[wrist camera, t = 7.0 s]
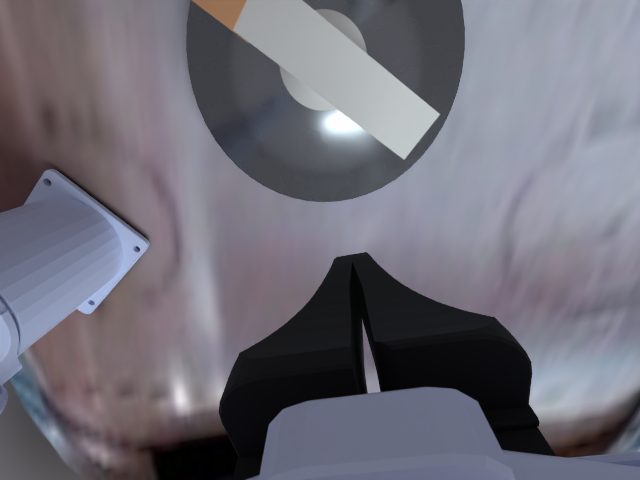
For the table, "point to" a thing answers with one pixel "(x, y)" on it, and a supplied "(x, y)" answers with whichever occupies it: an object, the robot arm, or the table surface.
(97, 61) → the table surface
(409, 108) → the white bar
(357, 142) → the flange
